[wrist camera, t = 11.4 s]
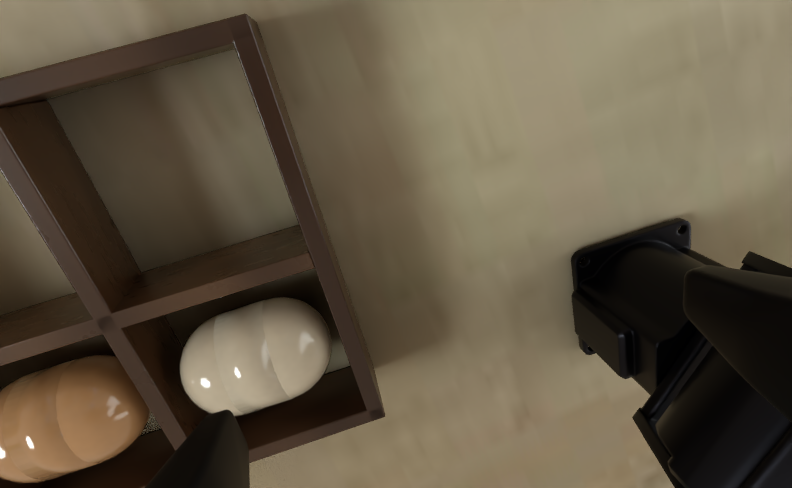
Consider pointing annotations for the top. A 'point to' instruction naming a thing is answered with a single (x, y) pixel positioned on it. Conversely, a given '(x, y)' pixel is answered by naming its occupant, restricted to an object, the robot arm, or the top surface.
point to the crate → (175, 283)
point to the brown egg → (68, 418)
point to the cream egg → (255, 356)
